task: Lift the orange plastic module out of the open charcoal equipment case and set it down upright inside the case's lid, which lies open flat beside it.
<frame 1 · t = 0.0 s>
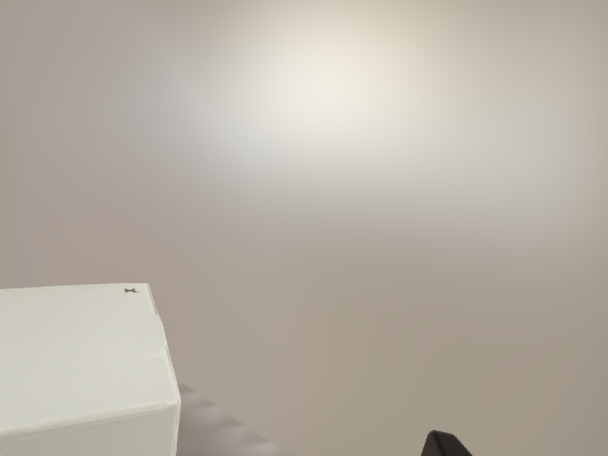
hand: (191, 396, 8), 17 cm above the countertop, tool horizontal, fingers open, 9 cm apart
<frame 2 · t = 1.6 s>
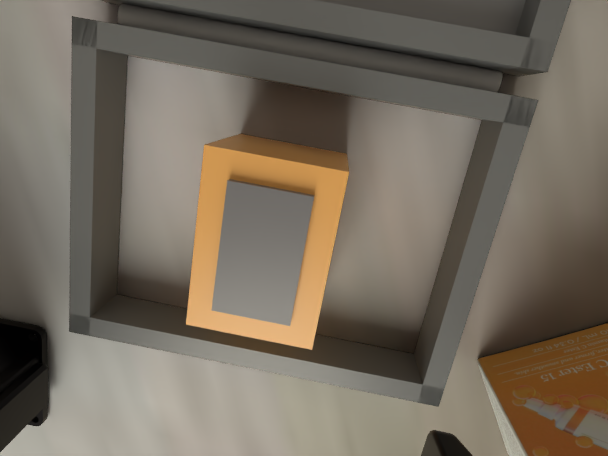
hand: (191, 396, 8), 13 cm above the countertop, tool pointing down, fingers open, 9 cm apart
module: (281, 215, 20), resting in equipment case
small box: (565, 381, 22), on the countertop
equipment case: (281, 215, 20), on the countertop
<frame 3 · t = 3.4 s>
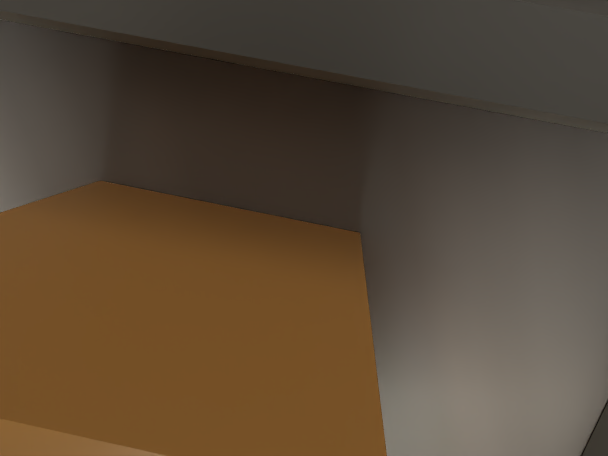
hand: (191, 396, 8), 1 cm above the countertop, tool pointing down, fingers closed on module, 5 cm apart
module: (208, 363, 9), resting in equipment case, touching gripper
equipment case: (207, 364, 9), on the countertop
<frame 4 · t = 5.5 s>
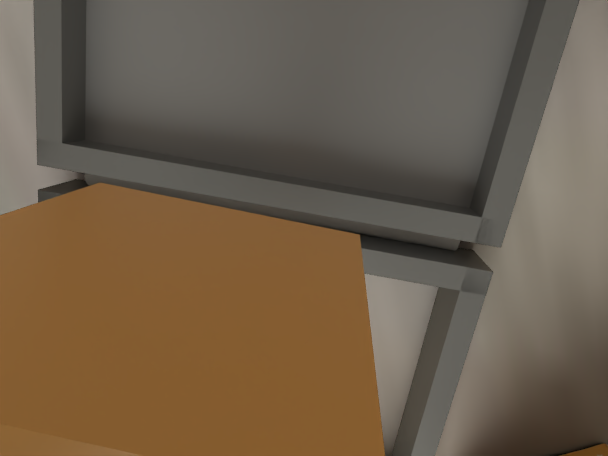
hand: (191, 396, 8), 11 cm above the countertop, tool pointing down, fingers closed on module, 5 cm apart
module: (207, 365, 9), point 10 cm above the countertop, touching gripper
case lid: (299, 18, 16), on the countertop
equipment case: (251, 349, 21), on the countertop
when the fingers open (3 cm above the countertop, at t = 7.9 s): module drops 1 cm, resting on case lid.
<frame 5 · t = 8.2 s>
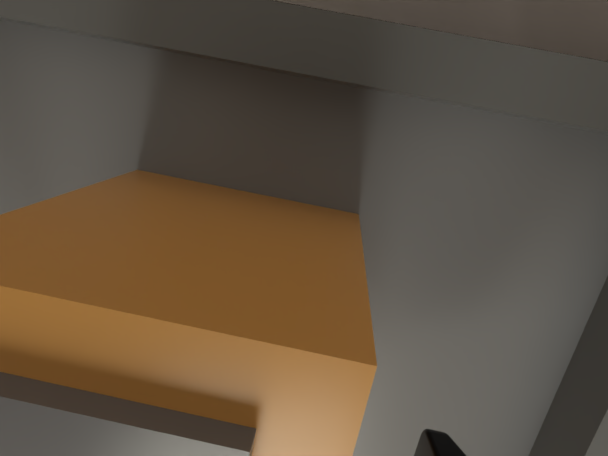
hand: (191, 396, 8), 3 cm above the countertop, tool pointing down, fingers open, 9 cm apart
module: (227, 329, 10), point 1 cm above the countertop, touching case lid
case lid: (237, 308, 11), on the countertop
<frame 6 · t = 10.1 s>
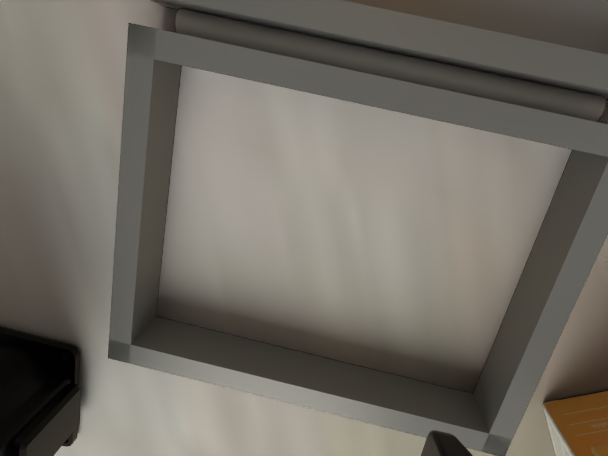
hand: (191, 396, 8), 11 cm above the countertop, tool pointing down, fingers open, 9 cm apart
equipment case: (339, 242, 19), on the countertop
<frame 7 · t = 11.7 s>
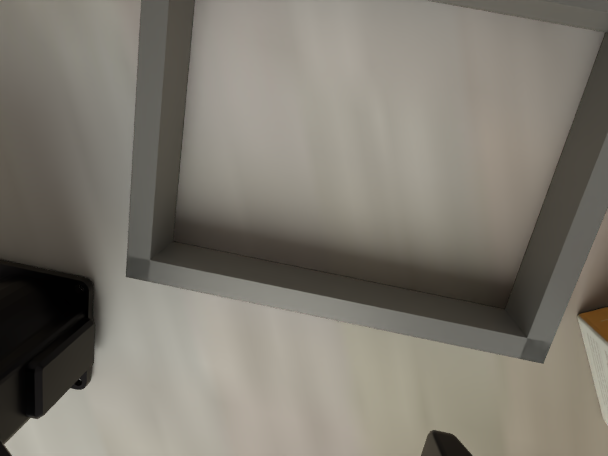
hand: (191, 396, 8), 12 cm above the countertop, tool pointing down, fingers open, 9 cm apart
equipment case: (364, 148, 18), on the countertop
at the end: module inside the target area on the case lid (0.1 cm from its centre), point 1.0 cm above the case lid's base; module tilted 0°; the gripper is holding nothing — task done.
